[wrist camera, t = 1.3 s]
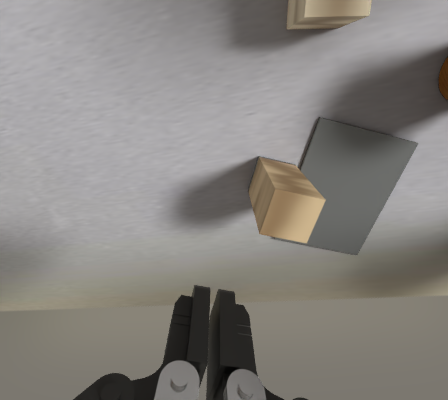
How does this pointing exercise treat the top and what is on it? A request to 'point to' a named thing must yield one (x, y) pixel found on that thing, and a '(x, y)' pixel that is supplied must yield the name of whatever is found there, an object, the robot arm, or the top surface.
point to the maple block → (325, 13)
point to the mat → (351, 181)
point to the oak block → (284, 200)
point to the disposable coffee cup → (444, 79)
